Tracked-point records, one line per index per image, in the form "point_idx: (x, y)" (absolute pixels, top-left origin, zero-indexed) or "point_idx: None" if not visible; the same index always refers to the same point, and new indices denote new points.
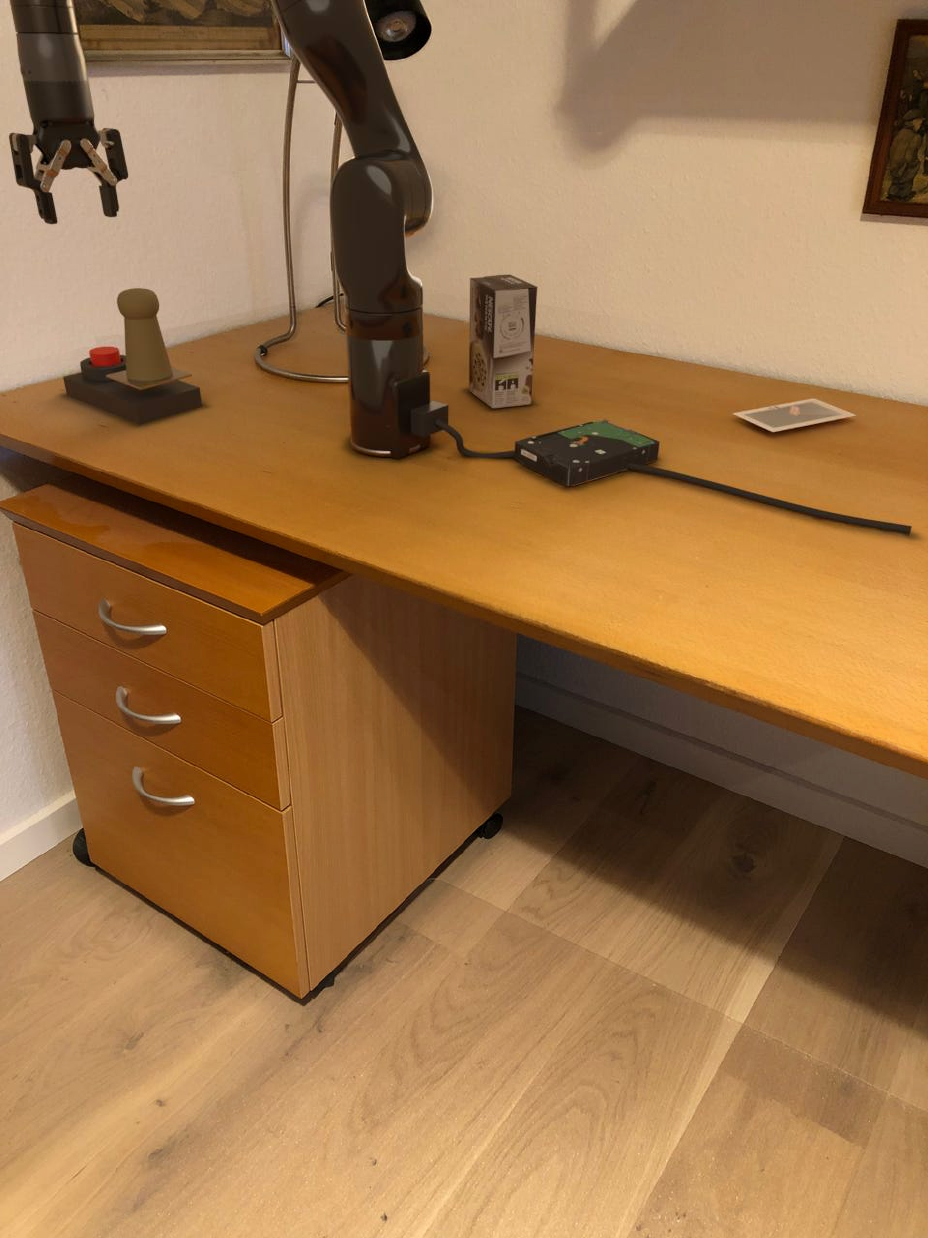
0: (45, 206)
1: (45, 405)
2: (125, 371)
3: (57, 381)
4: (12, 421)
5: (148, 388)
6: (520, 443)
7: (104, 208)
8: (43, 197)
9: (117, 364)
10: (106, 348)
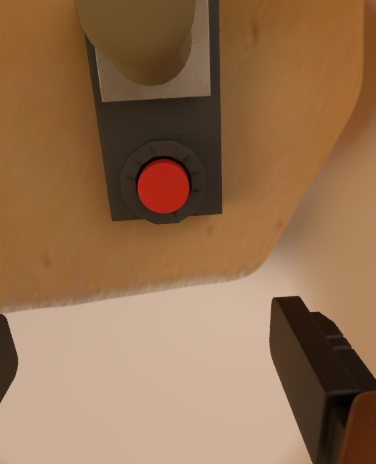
0: (337, 350)
1: (260, 185)
2: (174, 90)
3: (196, 269)
4: (326, 153)
5: None
6: None
7: (3, 378)
8: (362, 383)
9: (158, 153)
10: (154, 196)
